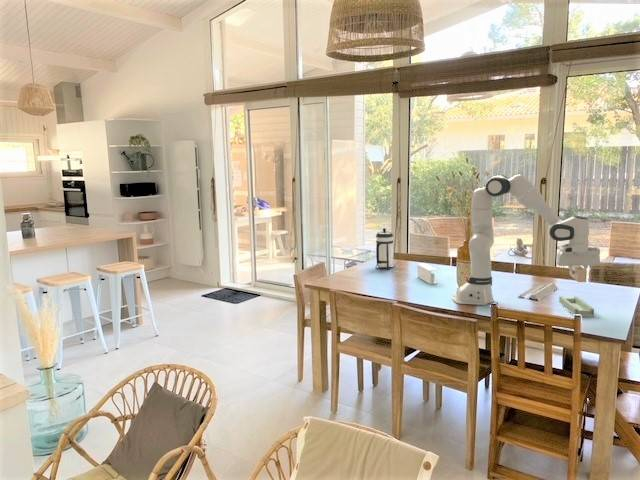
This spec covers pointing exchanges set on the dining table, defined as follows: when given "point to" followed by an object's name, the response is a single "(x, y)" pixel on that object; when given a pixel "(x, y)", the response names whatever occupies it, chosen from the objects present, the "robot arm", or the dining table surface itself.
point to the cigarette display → (426, 273)
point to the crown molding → (540, 291)
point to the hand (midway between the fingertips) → (577, 273)
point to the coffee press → (384, 249)
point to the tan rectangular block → (579, 274)
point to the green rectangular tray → (577, 306)
